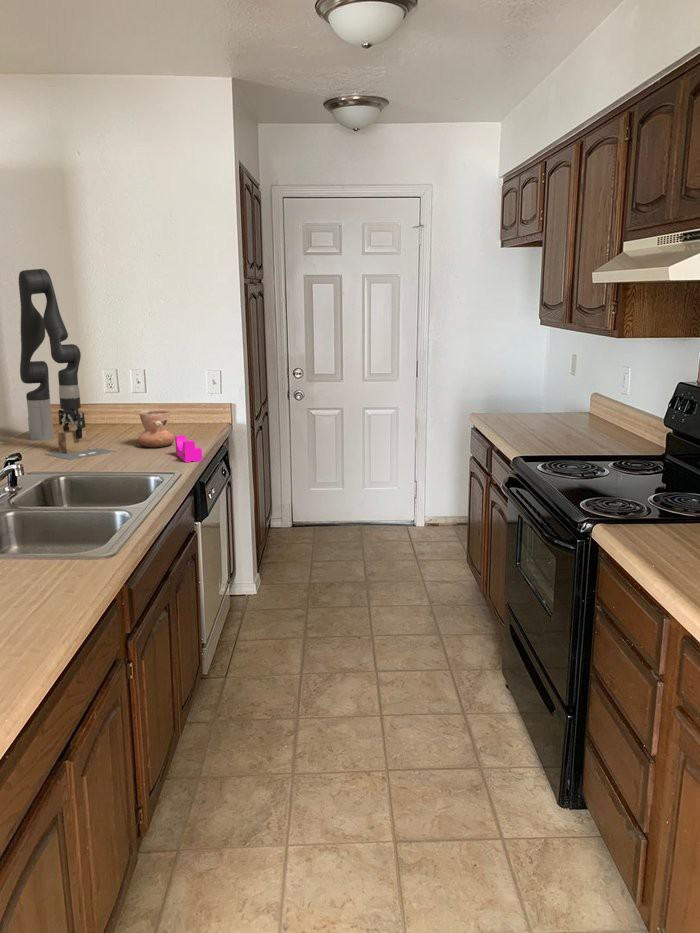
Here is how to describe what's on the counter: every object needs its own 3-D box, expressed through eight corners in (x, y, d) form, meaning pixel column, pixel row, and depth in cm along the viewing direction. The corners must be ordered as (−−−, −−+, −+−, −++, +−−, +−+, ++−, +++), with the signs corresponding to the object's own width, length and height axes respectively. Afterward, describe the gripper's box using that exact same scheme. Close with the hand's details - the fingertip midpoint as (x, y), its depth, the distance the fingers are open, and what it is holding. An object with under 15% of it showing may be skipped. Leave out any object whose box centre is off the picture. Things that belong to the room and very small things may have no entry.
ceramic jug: (178, 448, 298) (176, 413, 295) (141, 451, 293) (139, 415, 290) (170, 441, 314) (169, 407, 311) (135, 443, 309) (133, 409, 306)
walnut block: (59, 452, 291) (57, 432, 289) (79, 448, 298) (77, 429, 296) (67, 453, 287) (65, 433, 286) (87, 450, 294) (85, 430, 293)
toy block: (202, 460, 275) (201, 440, 273) (185, 462, 272) (184, 442, 271) (192, 453, 288) (191, 434, 287) (176, 455, 285) (175, 436, 284)
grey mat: (44, 454, 287) (44, 454, 287) (90, 446, 302) (90, 446, 302) (69, 459, 277) (69, 459, 277) (115, 451, 292) (115, 451, 292)
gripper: (50, 395, 289) (54, 436, 293) (71, 398, 281) (75, 440, 284) (67, 394, 295) (71, 434, 299) (88, 396, 287) (92, 438, 290)
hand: (73, 437), depth 291 cm, fingers open, 8 cm apart
